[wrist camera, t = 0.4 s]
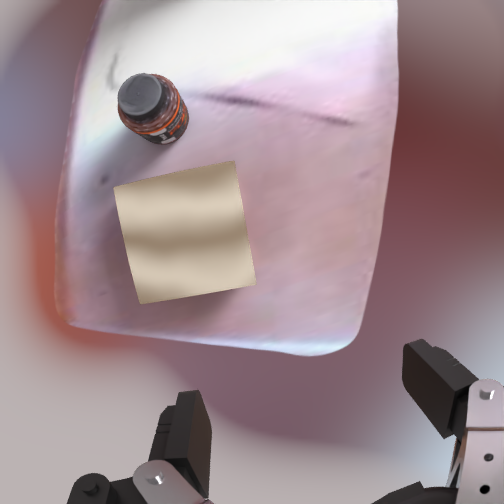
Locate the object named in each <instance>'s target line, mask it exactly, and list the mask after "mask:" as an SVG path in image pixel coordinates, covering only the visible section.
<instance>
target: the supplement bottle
mask: <svg viewBox="0 0 504 504" xmlns="http://www.w3.org/2000/svg"><path fill="white" fill-rule="evenodd" d="M118 113H119V116H120V119H121V120H122V122H123V123H124V124H125V126H126V127H128V128H129V129H131V130H132V131H134V132H135V133H137V134H139V135H140V136H142V137H143V138H145V139H147V140H148V141H150V142H153V143H156V144H168V143H171V142H174V141H175V140H177V139H178V138H180V137H181V136H182V134H183V133H184V132H185V130H186V128H187V125H188V122H189V115H188V110H187V107H186V106H185V104H184V102H183V100H182V98H181V96H180V95H179V93H178V91H177V89H176V88H175V86H174V85H173V83H172V82H171V81H170V80H168V79H167V78H165V77H163V76H161V75H157V74H145V73H142V74H136V75H134V76H131V77H130V78H128V79H127V80H126V81H125V82H124V83H123V84H122V86H121V87H120V89H119V92H118Z"/></svg>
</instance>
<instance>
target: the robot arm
mask: <svg viewBox="0 0 504 504" xmlns="http://www.w3.org/2000/svg"><path fill="white" fill-rule="evenodd" d="M402 381H403V384H404V387H405V389H406V390H407V392H408V393H409V394H410V396H411V397H412V398H413V399H414V401H415V402H416V403H417V405H418V406H419V407H420V409H421V410H422V411H423V412H424V414H425V415H426V416H427V418H428V419H429V420H430V422H431V423H432V424H433V425H434V427H435V428H436V429H437V431H438V432H439V433H440V435H441V436H442V437H443V439H445V438H447V437H449V436H451V435H453V434H454V435H455V436H456V437H457V438H456V441H455V446H454V451H453V457H452V462H451V467H450V472H449V476H448V480H447V483H446V487H429V488H423V486H422V484H421V482H420V481H419V482H416V483H414V484H412V485H409V486H407V487H404V488H401V489H399V490H396V491H394V492H391V493H389V494H387V495H386V496H384V497H382V498H381V499H379V500H377V501H375V502H374V503H372V504H504V386H503V385H501V383H499V382H498V381H496V380H493V379H482V380H479V379H478V378H477V377H476V376H475V375H474V374H472V373H471V372H470V371H469V370H468V369H467V368H466V367H465V366H463V365H462V364H461V363H459V361H457V359H455V358H454V357H453V356H452V355H451V354H450V353H449V352H447V351H446V350H444V349H441V348H439V347H436V346H435V347H432V346H430V345H429V344H428V343H427V342H426V341H425V340H423V339H419V340H417V341H414V342H410V343H408V344H405V345H404V348H403V367H402ZM211 440H212V429H211V423H210V419H209V416H208V414H207V411H206V408H205V405H204V402H203V399H202V396H201V394H200V392H199V390H193V391H185V392H179V393H178V397H177V401H176V405H173V406H167V408H166V409H165V410H164V411H163V412H162V413H161V415H160V418H159V422H158V426H157V429H156V434H155V437H154V440H153V444H152V448H151V452H150V455H149V460H148V462H146V463H144V464H142V465H141V466H139V467H138V468H137V469H136V471H135V472H134V474H133V477H130V478H127V479H122V480H117V481H113V482H109V480H108V479H107V478H106V477H105V476H103V475H101V474H98V473H91V474H87V475H84V476H82V477H80V478H79V479H78V480H77V481H76V482H75V483H74V485H73V487H72V490H71V493H70V496H69V499H68V502H67V504H214V503H213V502H212V501H210V500H209V499H207V500H205V499H206V498H208V495H209V475H210V455H211Z"/></svg>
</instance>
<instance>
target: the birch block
mask: <svg viewBox="0 0 504 504" xmlns="http://www.w3.org/2000/svg"><path fill="white" fill-rule="evenodd" d="M113 189H114V194H115V200H116V205H117V210H118V215H119V220H120V225H121V230H122V234H123V239H124V243H125V248H126V252H127V256H128V261H129V265H130V269H131V273H132V277H133V281H134V284H135V288H136V292H137V296H138V299H139V303H140V304H146V303H153V302H159V301H165V300H171V299H177V298H183V297H189V296H195V295H201V294H207V293H212V292H218V291H224V290H229V289H235V288H241V287H246V286H252V285H257V284H256V278H255V273H254V267H253V262H252V256H251V250H250V245H249V239H248V234H247V228H246V223H245V217H244V212H243V206H242V200H241V195H240V189H239V184H238V178H237V173H236V167H235V161H229V162H224V163H218V164H213V165H208V166H203V167H198V168H193V169H188V170H184V171H179V172H174V173H170V174H165V175H161V176H157V177H152V178H148V179H144V180H140V181H136V182H132V183H128V184H124V185H120V186H116V187H113Z"/></svg>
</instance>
